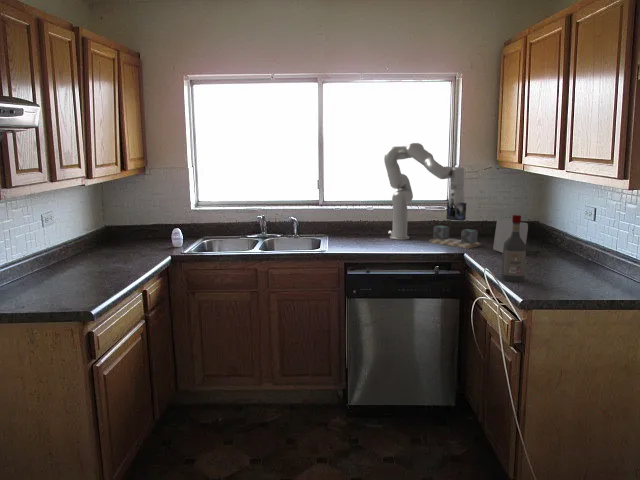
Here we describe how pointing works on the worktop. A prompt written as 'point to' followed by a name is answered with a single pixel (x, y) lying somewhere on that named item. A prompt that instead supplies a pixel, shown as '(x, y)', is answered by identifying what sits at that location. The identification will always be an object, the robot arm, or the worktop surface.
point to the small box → (457, 212)
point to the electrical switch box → (507, 233)
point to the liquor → (514, 254)
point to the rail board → (466, 239)
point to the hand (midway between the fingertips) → (455, 215)
